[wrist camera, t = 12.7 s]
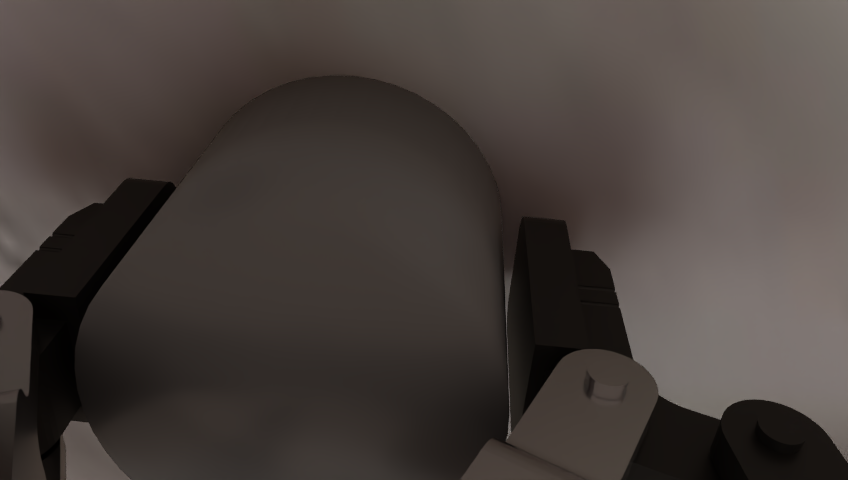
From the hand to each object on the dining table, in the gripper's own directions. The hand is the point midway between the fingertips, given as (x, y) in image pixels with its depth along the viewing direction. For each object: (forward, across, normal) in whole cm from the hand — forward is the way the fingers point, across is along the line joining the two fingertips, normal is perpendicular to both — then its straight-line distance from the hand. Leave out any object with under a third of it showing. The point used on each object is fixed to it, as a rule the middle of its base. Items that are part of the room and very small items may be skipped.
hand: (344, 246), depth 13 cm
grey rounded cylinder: (+1, 0, 0) cm, 1 cm away
